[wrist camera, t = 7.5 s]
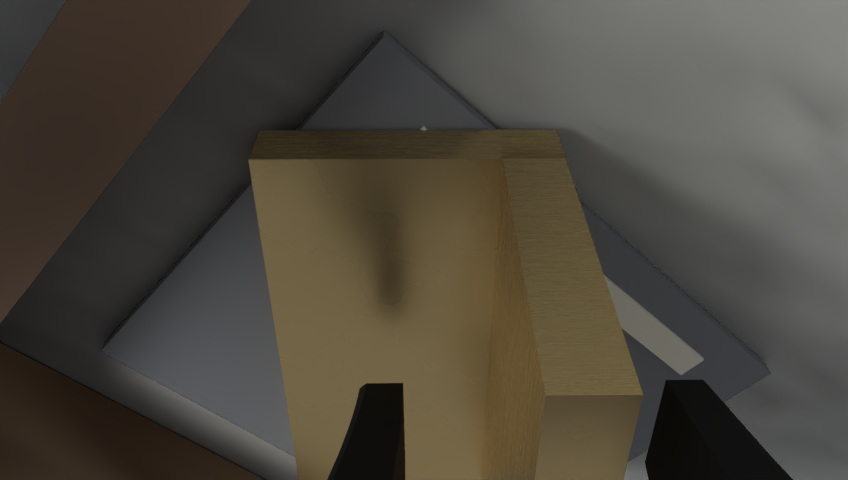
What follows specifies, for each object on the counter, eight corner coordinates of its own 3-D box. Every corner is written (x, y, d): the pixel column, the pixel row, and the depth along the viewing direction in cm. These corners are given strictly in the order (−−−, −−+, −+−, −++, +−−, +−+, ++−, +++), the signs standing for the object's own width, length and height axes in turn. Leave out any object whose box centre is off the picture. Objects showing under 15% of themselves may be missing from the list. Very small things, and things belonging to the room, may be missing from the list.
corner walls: (-118, 338, 16) (-239, 476, 13) (281, -256, 10) (226, -251, 7) (388, 585, 21) (384, 721, 18) (836, 298, 15) (934, 431, 12)
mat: (105, 341, 16) (98, 354, 15) (384, 30, 12) (383, 39, 12) (475, 545, 20) (476, 558, 20) (765, 363, 16) (772, 376, 16)
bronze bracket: (521, 443, 17) (562, 735, 12) (305, 444, 17) (257, 736, 12) (556, 129, 13) (642, 395, 8) (258, 130, 12) (155, 397, 8)
